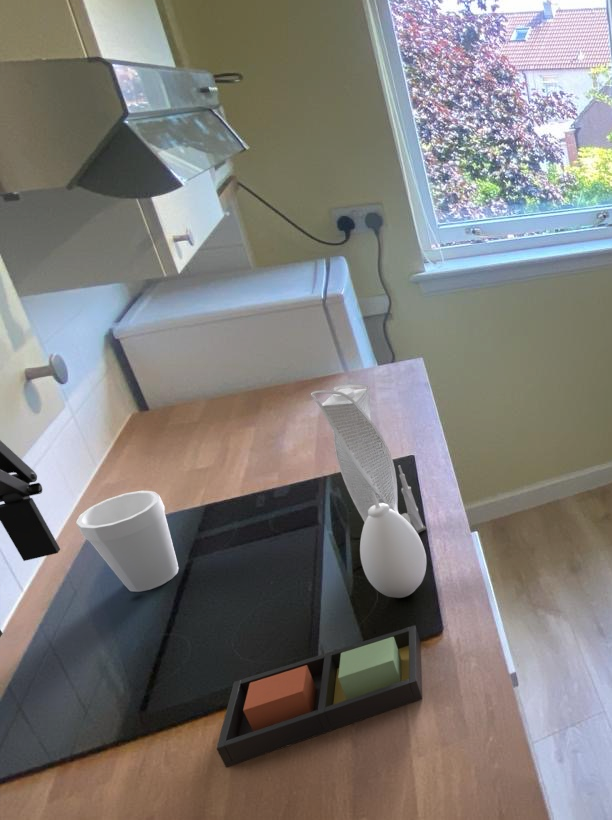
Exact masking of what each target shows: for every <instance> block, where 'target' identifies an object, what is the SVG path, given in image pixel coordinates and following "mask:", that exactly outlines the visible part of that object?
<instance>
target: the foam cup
mask: <svg viewBox="0 0 612 820" xmlns="http://www.w3.org/2000/svg"><path fill="white" fill-rule="evenodd" d="M165 510H166V506H165V505H164V503H163V500H162V498H161V496H160V494H158V493H157V492H155V491H154V490H138V491H137V490H136V491H131V492H125V493H123V494H122V493H121V494H119V495H116V496H113V497H109V498H107V499H104V500H102V501H100V502H98V503H96V504H94V505H91V506H90V507H88V508H87V509H86V510H85V511H83V512H82V513H81V514H79V516H78V517H77V520H76V522H75V523H76V524H75V525H77V528H78V529H79V531H80V533H81V535H82V537H84V539H85V540H87V541H88V542H89V543H90V544H91V545H92V547H93V548H94V549H95V550H96V551H97V552H98V554H99V555H100V556H101V558H102V559H103V560H104V562H105V563H106V565H108V566H109V568H110V569H111V571H113V573H114V574H115V575H116V577H117V578H118V579H119V580H120V582H121V583H122V584H123V585H124V587H126V589H128V591H130V592H132V593H133V592H135V593H140V592H146V591H151V590H152V589H156V588H158V587H160V586H162V585H164V584H166V583H167V582H169V581H170V580H172V579H174V578H175V576H177V574H178V573H179V569H180V567H179V564H178V560H177V556H176V551H175V548H174V544H173V540H172V536H171V531H170V527H169V525H168V520H167V516H166V512H165Z"/></svg>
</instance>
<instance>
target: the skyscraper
mask: <svg viewBox="0 0 612 820" xmlns="http://www.w3.org/2000/svg"><path fill="white" fill-rule="evenodd" d="M370 388H371V387H369V385H366V384H342V385H337V386H334V387H333V388H332V389H333V390H331V389H329V390H328V389H323V390H314V391H312V392H311V393H310V396H311V398H312V399H313V401H314V402H315V403H316V404H317V405H318V407H319V408H320V410H321V412H322V414H323V416H324V417H325V419H326V421H327V423H328V424H329V426H330V428H331V430H332V434H333V444H334V445H333V446H334V450H335V457H336V460H337V464H338V468H339V470H340V471H339V472H340V473H341V476H342V480H343V481H344V485H345V487H346V490H347V492H348V494H349V496H350V497H351V500H352V503H353V504H354V506H355V509H356V510H357V512H358V513H359V516H360V517H361V519H362V521H363V522H364V523H365V521H366V519H367V517H368V516H369V515H368V510H369V508H370V507H372V506H373V505H375V503H374V500H373V495H372V492H374V493H375V495H376V498H377V500H378V503H385V504H388V505H389V508H390V509H392V510H394V511H396V512H397V513H399V509H398V507H399V506H398V505H399V504H398V503H399V502H398V501H399V500H398V499H399V498H398V497H399V496H398V483H397V482H398V481H397V474H396V467H395V464H394V460H393V456H392V454H391V452H390V451H391V450H390V448H389V446H388V444H387V441H386V439H384V437H383V435H382V434H381V432H380V431H379V429H378V428H377V426H376V425H375V423H374V422H373V421H372V414H371V409H372V408H371V389H370ZM320 394H331V395H329V397H328V398H326V400H324V401H323V402H322V403H321V401H320V400H319V399H318V397H316V395H320ZM397 467H398V471H399V475H398V476H399V479H400V482H401V486H402V487H401V490H400V492H401V494H402V495H403V499H404V502H405V507H406V512H404V513H402V514H400V515H401V516H403V517H404V518H405V519H406V520H407V521H408V522H409V523H410V524H411V525H412V527H413V528H414V529H415V531H416V532H417V534H418V535H419V534H420V533H422V532H423V531H426V530H427V527H426V526H425V525H424V523H423V522H422V518H421V516H420V513H419V508H418V506H417V503H416V501H415V498H414V495H413V492H412V486H411V485H409V484H408V482H407V479H406V475H405V473H403V470H402V467H401V465H400V464H399V465H397ZM364 523H363V524H364Z"/></svg>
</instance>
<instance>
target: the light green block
mask: <svg viewBox="0 0 612 820" xmlns="http://www.w3.org/2000/svg"><path fill="white" fill-rule="evenodd" d="M338 679H339V681H340V684H341V686H342V689H343V691H344V694H345V696H346V699H347V700H348V699H351V698H354V697H357V696H360V695H363V694H366V693H369V692H372V691H375V690H378V689H381V688H384V687H387V686H390V685H393V684H396V683H399V682H401V657H400V654H399V651H398V648H397V645H396V642H395V639H394V637H390V638H387V639H384V640H381V641H378V642H374V643H371V644H368V645H365V646H362V647H359V648H355V649H352V650H349V651H346V652H343V653H341V657H340V667H339V676H338Z"/></svg>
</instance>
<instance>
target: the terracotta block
mask: <svg viewBox="0 0 612 820" xmlns="http://www.w3.org/2000/svg"><path fill="white" fill-rule="evenodd" d="M315 695H316V686H315V683H314V681H313V679H312V676H311V674H310V671H309V669H308V667H307V665H306V666H302V667H299V668H296V669H293V670H290V671H286V672H283V673H280V674H277V675H274V676H271V677H267V678H264V679H261V680H258V681H255V682H252V683H250V684H249V688H248V692H247V697H246V701H245V705H244V709H243V711H244V713H245V715H246V717H247V719H248V722H249V724H250V726H251V728H252V730H253V731H256V730H259V729H262V728H265V727H268V726H271V725H274V724H277V723H280V722H283V721H286V720H289V719H292V718H295V717H298V716H301V715H304V714H307V713H310V712H313V710H314V703H315Z"/></svg>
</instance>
